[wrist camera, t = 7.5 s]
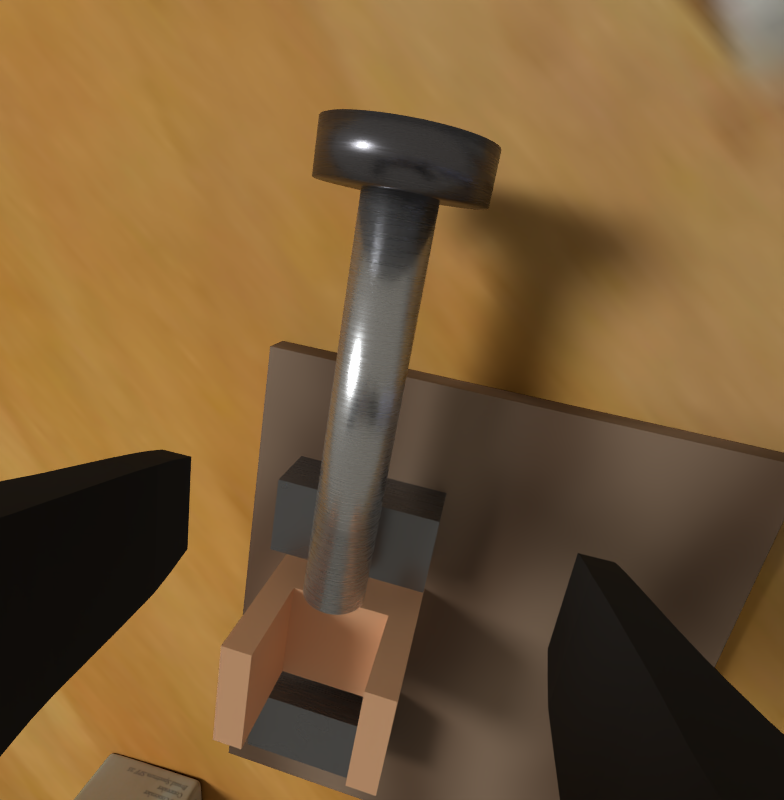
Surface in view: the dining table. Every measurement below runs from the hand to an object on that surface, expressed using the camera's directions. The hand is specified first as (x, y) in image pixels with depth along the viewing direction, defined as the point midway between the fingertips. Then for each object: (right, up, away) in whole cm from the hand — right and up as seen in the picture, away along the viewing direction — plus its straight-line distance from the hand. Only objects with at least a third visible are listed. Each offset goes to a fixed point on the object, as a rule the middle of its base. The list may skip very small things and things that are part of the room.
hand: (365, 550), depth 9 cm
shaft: (0, +3, +6) cm, 7 cm away
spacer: (-1, -5, +9) cm, 11 cm away
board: (+3, -6, +10) cm, 12 cm away
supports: (-1, -5, +10) cm, 11 cm away
